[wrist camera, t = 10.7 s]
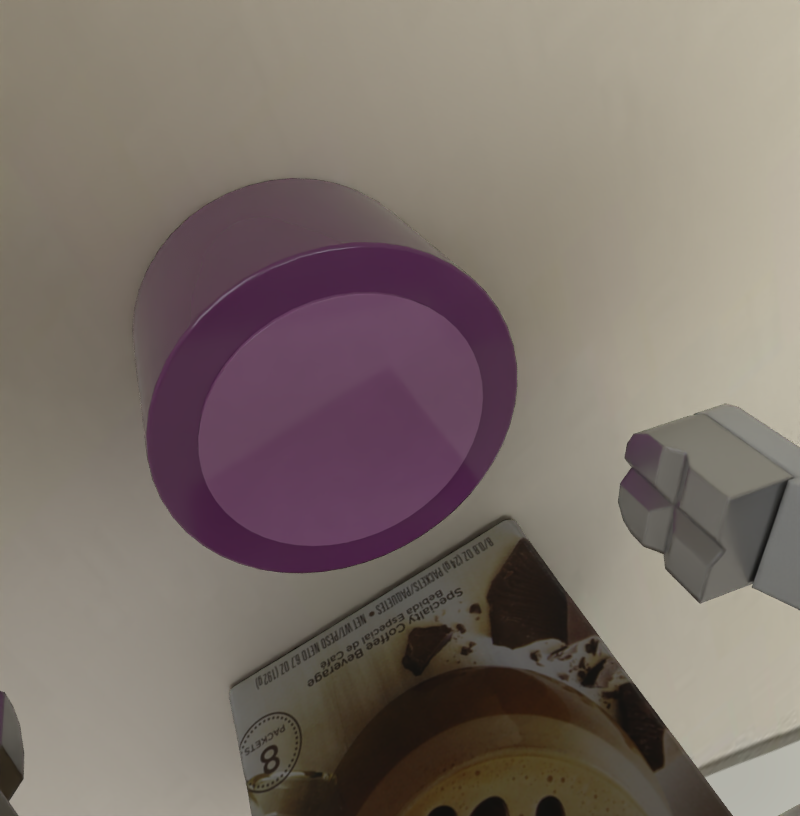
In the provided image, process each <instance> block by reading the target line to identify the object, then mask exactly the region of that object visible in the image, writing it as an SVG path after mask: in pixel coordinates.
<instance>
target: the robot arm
mask: <svg viewBox="0 0 800 816" xmlns="http://www.w3.org/2000/svg"><path fill="white" fill-rule="evenodd" d="M625 460H626V461H627V462H628V464H629V465H630V466H631V467H632V468H631V469H630V470H629V472H628V473H627V475H626V476H625V477H624V479H623V480H622V482H621V483H620V489H619V498H618V504H619V507H620V511H621V514H622V518H623V521H624V523H625V524H626V526H627V527H628V529H629V531H630V532H631V534H632V535H633V536H634V537H635V538H636V539H637V540H638V541H639V542H640V543H641V544H642V546H644V547H646V548H649V549H652V550H654V551H657V552H660V553H662V554H664V562H665V569H666V570H667V571H668V572H669V573H670V574H671V575H672V576H673V577H674V578H675V579H676V580H677V581H678V582H679V583H680V584H681V585H682V586H683V587H684V588H685V589H686V590H687V591H688V592H689V593H690V594H691V595H692V596H693V597H694V598H695V599H696V600H697V601H698V602H699V603H703V602H705V601H708V600H711V599H713V598H716V597H719V596H721V595H724V594H726V593H729V592H732V591H734V590H737V589H740V588H742V587H745V586H748V585H750V584H753V585H752V588H755V589H757V590H759V591H761V592H763V593H765V594H767V595H769V596H771V597H773V598H776V599H778V600H780V601H782V602H784V603H786V604H788V605H790V606H792V607H794V608H797V609H799V610H800V447H798V446H797V445H795V444H794V443H792V442H791V441H789V440H788V439H786V438H785V437H783V436H782V435H780V434H779V433H777V432H776V431H774V430H773V429H771V428H770V427H768V426H767V425H765V424H764V423H762V422H761V421H759V420H757V419H756V418H754V417H753V416H751V415H750V414H748V413H747V412H745V411H744V410H742V409H741V408H739V407H737V406H733V405H729V404H722V405H719V406H716V407H713V408H710V409H707V410H704V411H701V412H698V413H695V414H694V415H691V416H687V417H683V418H680V419H677V420H674V421H671V422H668V423H665V424H662V425H659V426H656V427H653V428H650V429H647V430H644V431H641V432H638V433H635V434H633V436H632V437H631V439H630V440H629V441H628V443H627V447H626V452H625ZM23 779H24V748H23V741H22V735H21V728H20V724H19V721H18V718H17V715H16V713H15V710H14V707H13V705H12V704H11V702H10V700H9V699H8V697H7V695H6V694H5V692H2V691H0V816H18V814H17V813H16V811H15V810H14V809H13V807H12V806H11V804H10V803H9V800H10V799H11V797H12V796H13V794H14V793H15V791H16V790H17V788H18V786H19V785H20V783H21V782H22V780H23ZM779 816H800V804H799V805H797V806H795V807H793V808H791V809H790V810H788V811H786V812H784V813H782V814H780V815H779Z"/></svg>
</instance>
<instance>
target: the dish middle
mask: <svg viewBox="0 0 800 816" xmlns="http://www.w3.org/2000/svg"><path fill="white" fill-rule="evenodd" d="M132 331H133V346H134V356H135V364H136V372H137V380H138V388H139V396H140V404H141V412H142V420H143V428H144V437H145V445H146V453H147V459H148V463H149V468H150V472H151V476H152V480H153V482H154V484H155V487H156V489H157V491H158V494H159V496H160V498H161V500H162V502H163V503H164V505H165V506H166V508H167V509H168V511H169V512H170V514H171V516H172V517H173V518H174V519H175V520H176V521H177V522H178V524H179V525H180V526H181V527H182V528H183V529H184V530H185V531H186V532H187V533H188V534H189V535H191V536H192V537H193V538H194V539H195V540H197V541H198V542H199V543H200V544H202V545H203V546H205V547H206V548H208V549H210V550H211V551H213V552H215V553H217V554H218V555H220V556H222V557H224V558H227V559H229V560H232V561H234V562H236V563H239V564H242V565H246V566H249V567H253V568H257V569H261V570H267V571H274V572H282V573H312V572H325V571H330V570H336V569H342V568H347V567H350V566H354V565H358V564H362V563H365V562H368V561H371V560H373V559H376V558H379V557H381V556H384V555H386V554H388V553H391V552H393V551H395V550H397V549H399V548H401V547H403V546H405V545H407V544H408V543H410V542H412V541H414V540H415V539H417V538H419V537H420V536H422V535H423V534H425V533H426V532H428V531H429V530H430V529H432V528H433V527H435V526H436V525H437V524H439V523H440V522H441V521H442V520H444V519H445V518H446V517H447V516H448V515H449V514H451V513H452V512H453V511H454V510H455V509H456V508H457V507H458V506H459V505H460V504H461V503H462V502H463V501H464V500H465V499H466V498H467V497H468V496H469V495H470V494H471V492H472V491H473V490H474V489H475V487H476V486H477V485H478V484H479V482H480V481H481V480H482V479H483V477H484V476H485V474H486V473H487V471H488V470H489V468H490V466H491V465H492V463H493V462H494V460H495V458H496V456H497V454H498V452H499V450H500V448H501V446H502V444H503V442H504V440H505V437H506V434H507V432H508V429H509V426H510V424H511V420H512V415H513V411H514V407H515V402H516V393H517V363H516V357H515V351H514V345H513V342H512V339H511V336H510V333H509V330H508V327H507V324H506V322H505V320H504V319H503V317H502V315H501V313H500V311H499V309H498V307H497V306H496V305H495V303H494V302H493V300H492V299H491V298H490V296H489V295H488V294H487V292H486V291H485V290H484V289H483V288H482V287H481V286H480V285H479V284H478V283H477V282H476V281H475V280H473V279H472V278H471V277H470V276H469V275H468V274H467V273H466V272H464V271H463V270H462V269H461V268H459V267H458V266H457V265H456V264H455V263H453V262H452V261H451V260H450V259H449V258H447V257H446V256H445V255H444V254H442V253H441V252H440V251H439V250H438V249H436V248H435V247H434V246H433V245H432V244H430V243H429V242H428V241H427V240H425V239H424V238H423V237H422V236H421V235H419V234H418V233H417V232H416V231H415V230H413V229H412V228H411V227H410V226H408V225H407V224H406V223H405V222H404V221H402V220H401V219H400V218H399V217H398V216H396V215H395V214H394V213H393V212H391V211H390V210H389V209H387V208H386V207H385V206H383V205H382V204H380V203H379V202H378V201H376V200H375V199H373V198H371V197H369V196H367V195H365V194H363V193H361V192H359V191H357V190H355V189H352V188H349V187H346V186H343V185H340V184H337V183H332V182H327V181H322V180H316V179H297V178H292V179H281V180H271V181H266V182H262V183H257V184H253V185H249V186H246V187H244V188H241V189H238V190H235V191H233V192H230V193H228V194H226V195H224V196H222V197H220V198H218V199H216V200H214V201H213V202H211V203H209V204H207V205H206V206H204V207H203V208H201V209H200V210H199V211H197V212H196V213H195V214H193V215H192V216H190V217H189V218H188V219H187V220H186V221H185V222H184V223H183V224H182V225H181V226H179V227H178V228H177V229H176V230H175V231H174V232H173V233H172V234H171V236H170V237H169V238H168V239H167V241H166V242H165V243H164V244H163V246H162V247H161V248H160V249H159V251H158V252H157V254H156V256H155V257H154V259H153V261H152V263H151V264H150V266H149V268H148V269H147V272H146V274H145V276H144V279H143V281H142V284H141V286H140V289H139V292H138V296H137V301H136V305H135V309H134V318H133V330H132Z"/></svg>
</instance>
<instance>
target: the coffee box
mask: <svg viewBox="0 0 800 816" xmlns="http://www.w3.org/2000/svg"><path fill="white" fill-rule="evenodd" d="M229 700H230V704H231V709H232V714H233V719H234V724H235V729H236V734H237V740H238V745H239V750H240V755H241V761H242V766H243V771H244V776H245V780H246V785H247V790H248V796H249V802H250V808H251V814H252V816H733V815H732V814H731V813H730V811H729V810H728V809H727V807H726V806H725V805H724V803H723V802H722V801H721V799H720V798H719V797H718V795H717V794H716V793H715V791H714V790H713V788H712V787H711V786H710V784H709V783H708V782H707V780H706V779H705V778H704V776H703V775H702V774H701V772H700V771H699V770H698V768H697V767H696V765H695V764H694V763H693V761H692V760H691V759H690V757H689V756H688V755H687V753H686V752H685V751H684V749H683V748H682V747H681V745H680V744H679V742H678V741H677V740H676V739H675V737H674V736H673V735H672V733H671V732H670V731H669V729H668V728H667V727H666V725H665V724H664V723H663V721H662V720H661V719H660V717H659V716H658V714H657V713H656V712H655V710H654V709H653V708H652V707H651V705H650V704H649V703H648V701H647V700H646V699H645V697H644V696H643V695H642V693H641V692H640V691H639V689H638V688H637V687H636V685H635V684H634V683H633V681H632V680H631V679H630V677H629V676H628V674H627V673H626V672H625V670H624V669H623V668H622V667H621V665H620V664H619V663H618V661H617V660H616V658H615V657H614V656H613V654H612V653H611V652H610V650H609V649H608V647H607V646H606V645H605V643H604V642H603V641H602V639H601V638H600V637H599V635H598V634H597V633H596V631H595V630H594V628H593V627H592V626H591V624H590V623H589V622H588V620H587V619H586V618H585V616H584V615H583V613H582V612H581V611H580V609H579V608H578V607H577V605H576V604H575V603H574V601H573V600H572V599H571V597H570V596H569V595H568V594H567V592H566V591H565V590H564V588H563V587H562V586H561V584H560V583H559V582H558V580H557V579H556V577H555V576H554V574H553V573H552V572H551V570H550V569H549V568H548V566H547V565H546V563H545V562H544V561H543V559H542V558H541V557H540V555H539V554H538V552H537V551H536V550H535V548H534V547H533V545H532V544H531V543H530V541H529V540H528V539H527V537H526V535H525V534H524V532H523V531H522V529H521V528H520V526H519V525H518V524H517V522H516V521H515V520H504V521H503V522H501V523H499V524H498V525H496V526H495V527H493V528H491V529H490V530H488V531H487V532H485V533H483V534H482V535H480V536H479V537H477V538H475V539H474V540H472V541H471V542H469V543H468V544H466V545H464V546H463V547H461V548H459V549H458V550H456V551H455V552H453V553H451V554H450V555H448V556H446V557H445V558H443V559H442V560H440V561H438V562H437V563H435V564H433V565H432V566H430V567H428V568H427V569H425V570H424V571H422V572H420V573H419V574H417V575H415V576H414V577H412V578H411V579H409V580H407V581H406V582H404V583H402V584H401V585H399V586H398V587H396V588H394V589H393V590H391V591H389V592H388V593H386V594H385V595H383V596H381V597H380V598H378V599H376V600H375V601H373V602H372V603H370V604H368V605H367V606H365V607H363V608H362V609H360V610H359V611H357V612H355V613H354V614H352V615H350V616H349V617H347V618H346V619H344V620H342V621H341V622H339V623H337V624H336V625H334V626H333V627H331V628H329V629H328V630H326V631H324V632H323V633H321V634H319V635H318V636H316V637H315V638H313V639H311V640H310V641H308V642H306V643H305V644H303V645H301V646H300V647H298V648H297V649H295V650H293V651H292V652H290V653H288V654H287V655H285V656H283V657H282V658H280V659H278V660H277V661H275V662H274V663H272V664H270V665H269V666H267V667H265V668H264V669H262V670H260V671H259V672H257V673H255V674H254V675H252V676H251V677H249V678H247V679H246V680H244V681H242V682H241V683H239V684H238V685H236V686H234V687H233V688H232V689H231V690H230V692H229Z"/></svg>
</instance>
